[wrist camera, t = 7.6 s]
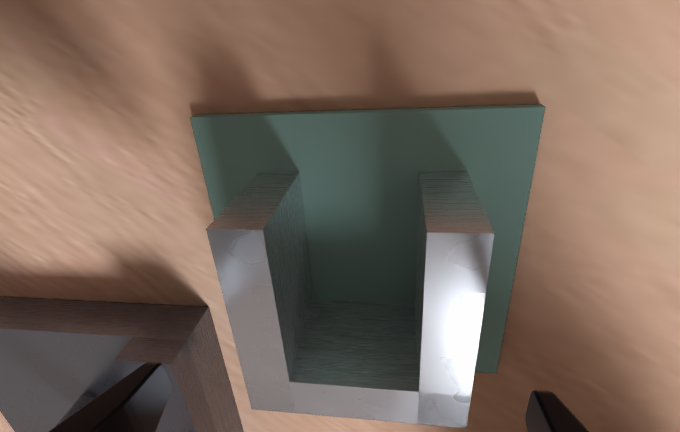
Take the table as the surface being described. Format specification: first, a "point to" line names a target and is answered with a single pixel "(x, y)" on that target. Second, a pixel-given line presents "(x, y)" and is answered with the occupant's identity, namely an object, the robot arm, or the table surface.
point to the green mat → (383, 189)
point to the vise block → (109, 361)
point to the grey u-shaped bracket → (355, 309)
